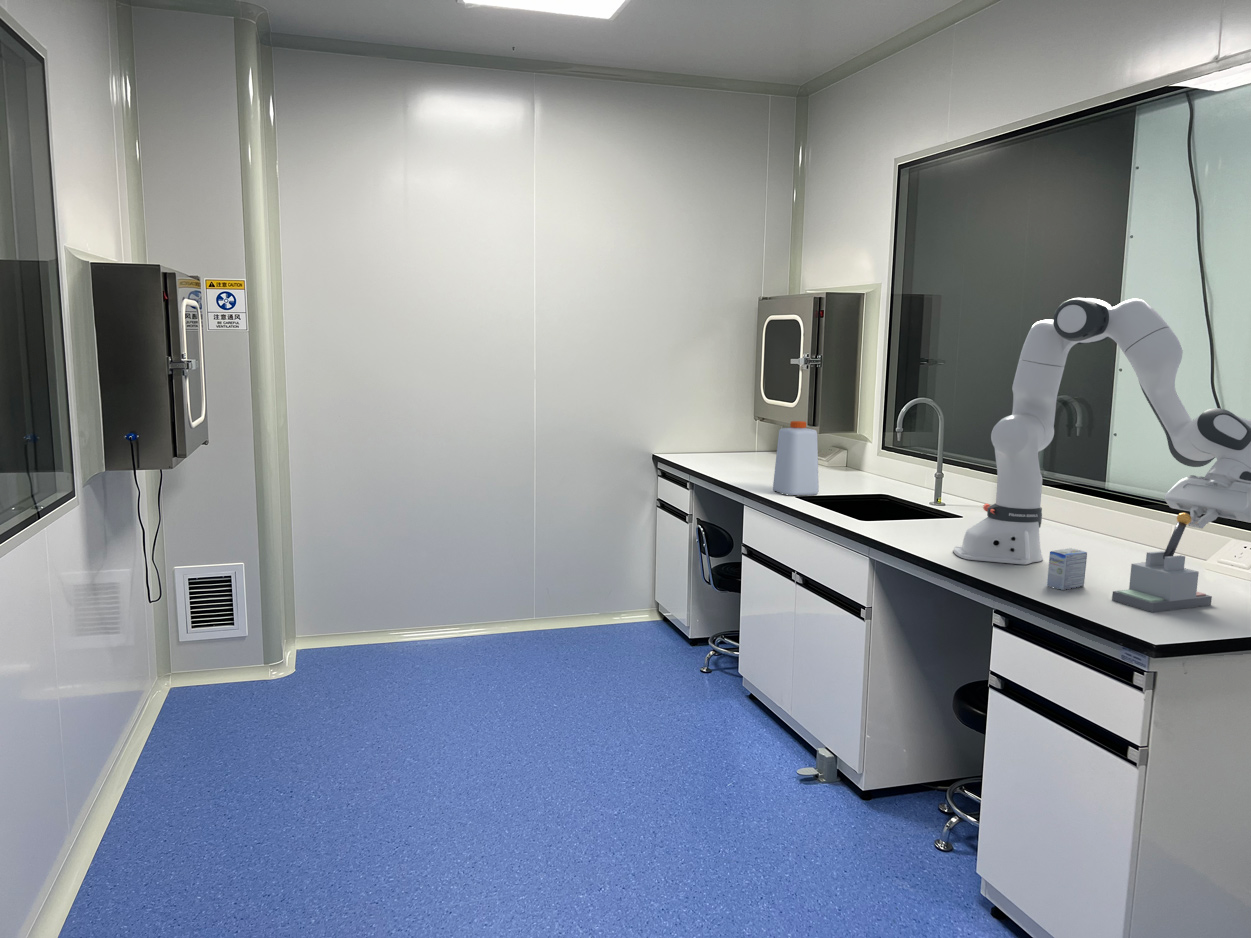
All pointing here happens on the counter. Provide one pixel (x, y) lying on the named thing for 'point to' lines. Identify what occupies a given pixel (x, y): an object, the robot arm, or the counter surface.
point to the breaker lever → (1177, 534)
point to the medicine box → (1067, 568)
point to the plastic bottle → (797, 461)
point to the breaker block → (1162, 585)
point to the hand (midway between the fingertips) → (1193, 525)
